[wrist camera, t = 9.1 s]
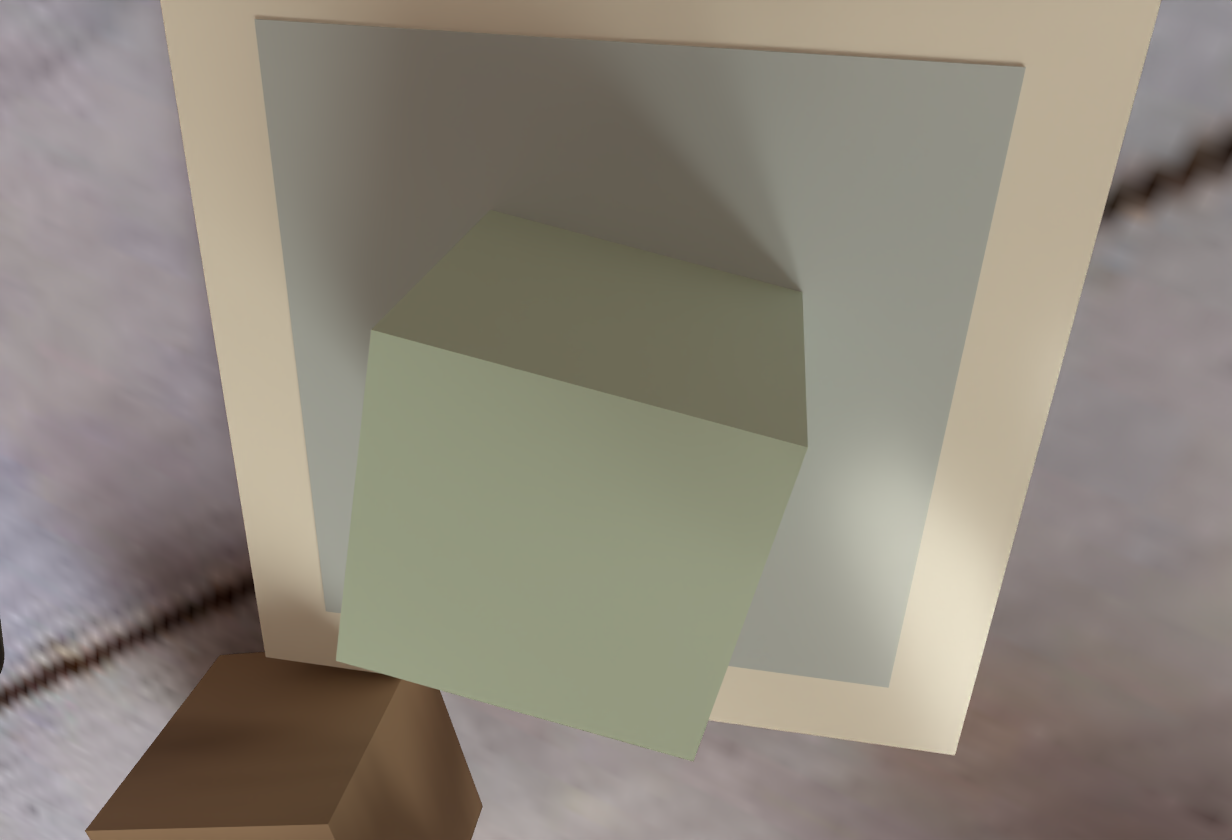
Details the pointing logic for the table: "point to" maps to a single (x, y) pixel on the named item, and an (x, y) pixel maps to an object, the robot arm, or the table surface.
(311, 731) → the walnut cube
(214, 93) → the tray
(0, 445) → the table surface
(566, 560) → the sage cube
